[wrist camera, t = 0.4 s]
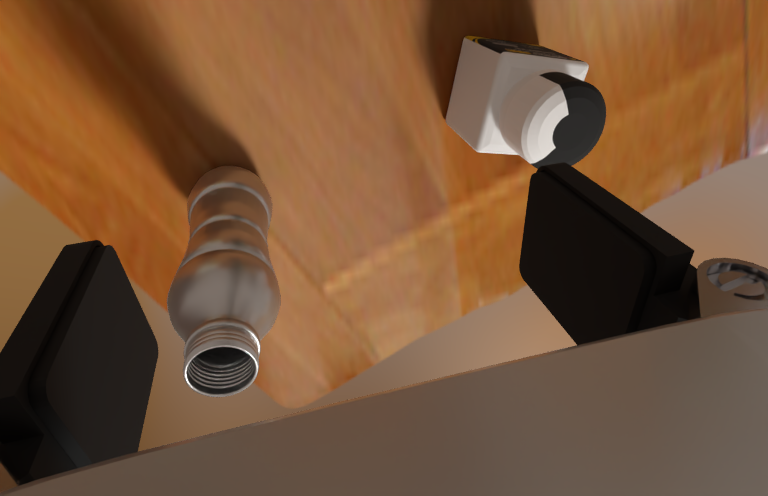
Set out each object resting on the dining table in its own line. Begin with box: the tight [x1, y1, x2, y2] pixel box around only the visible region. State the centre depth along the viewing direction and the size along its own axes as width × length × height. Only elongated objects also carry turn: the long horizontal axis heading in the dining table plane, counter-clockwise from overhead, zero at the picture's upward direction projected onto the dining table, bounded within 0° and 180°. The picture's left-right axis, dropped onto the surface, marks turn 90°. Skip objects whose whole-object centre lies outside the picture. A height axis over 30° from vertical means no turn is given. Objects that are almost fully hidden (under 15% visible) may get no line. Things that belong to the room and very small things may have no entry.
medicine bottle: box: [446, 36, 606, 168], centre depth 35 cm, size 7×7×12 cm
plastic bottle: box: [167, 166, 281, 397], centre depth 31 cm, size 6×7×20 cm
